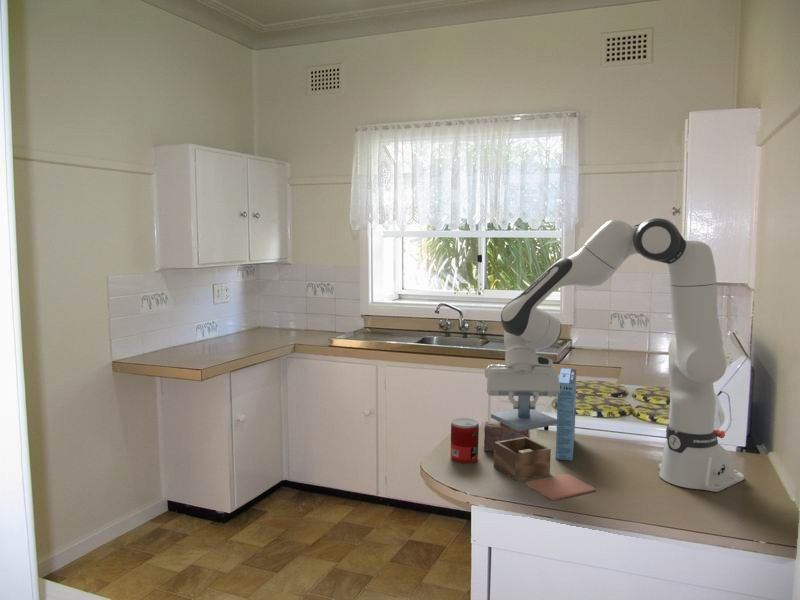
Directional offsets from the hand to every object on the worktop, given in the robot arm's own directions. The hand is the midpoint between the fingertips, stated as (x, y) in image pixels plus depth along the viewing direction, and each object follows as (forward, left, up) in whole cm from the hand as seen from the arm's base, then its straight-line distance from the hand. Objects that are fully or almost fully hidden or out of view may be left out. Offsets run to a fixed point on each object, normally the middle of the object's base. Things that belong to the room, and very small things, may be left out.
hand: (524, 408), depth 178 cm
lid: (0, -1, -5) cm, 5 cm away
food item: (-5, -15, -18) cm, 24 cm away
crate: (0, -1, -18) cm, 18 cm away
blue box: (-22, -9, -18) cm, 30 cm away
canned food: (+10, -15, -18) cm, 25 cm away
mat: (-2, +13, -18) cm, 22 cm away
